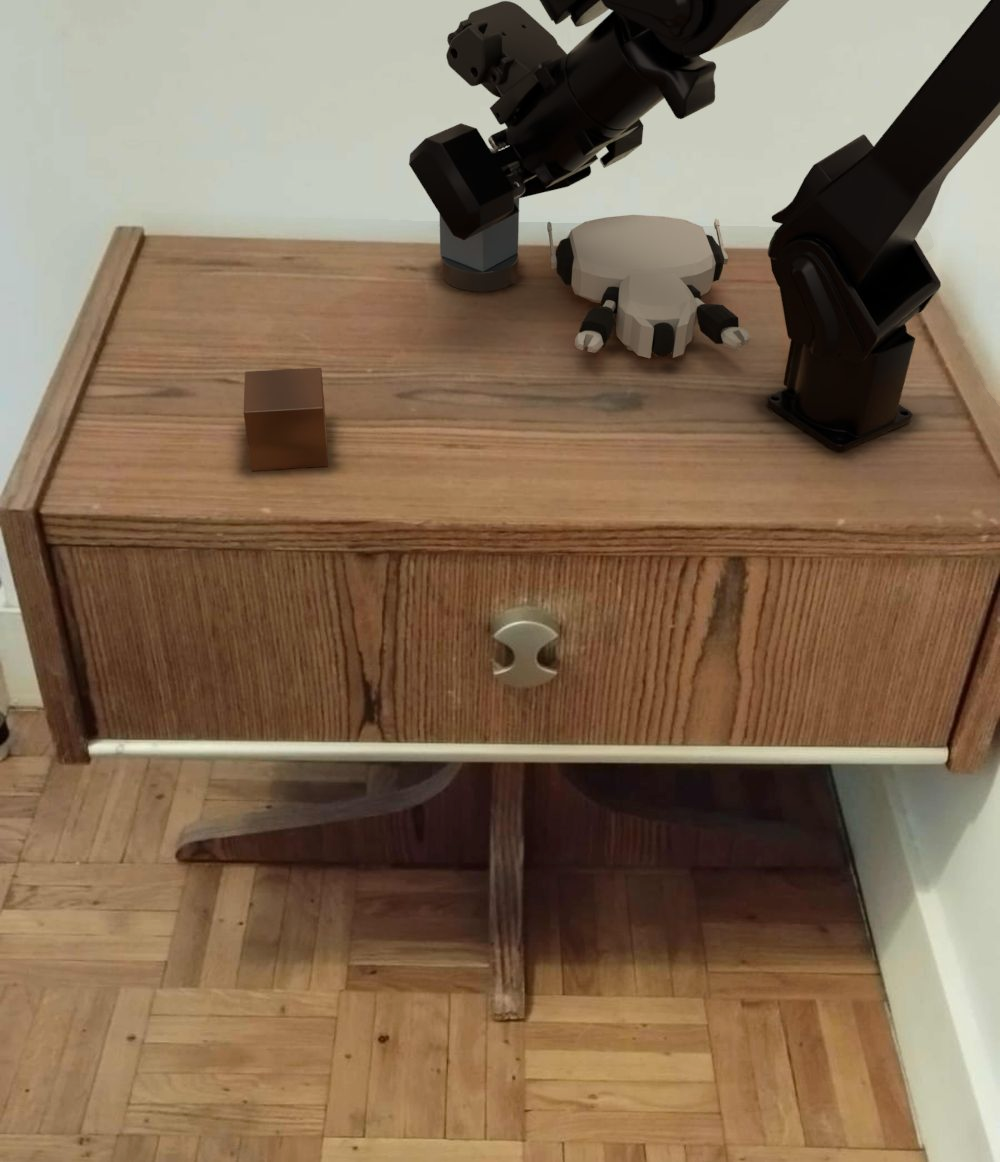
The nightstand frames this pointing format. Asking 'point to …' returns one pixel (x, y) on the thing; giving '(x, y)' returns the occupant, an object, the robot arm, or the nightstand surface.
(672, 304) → the robot toy
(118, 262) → the nightstand surface
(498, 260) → the top block
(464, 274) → the disc
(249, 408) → the base block
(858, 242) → the robot arm
